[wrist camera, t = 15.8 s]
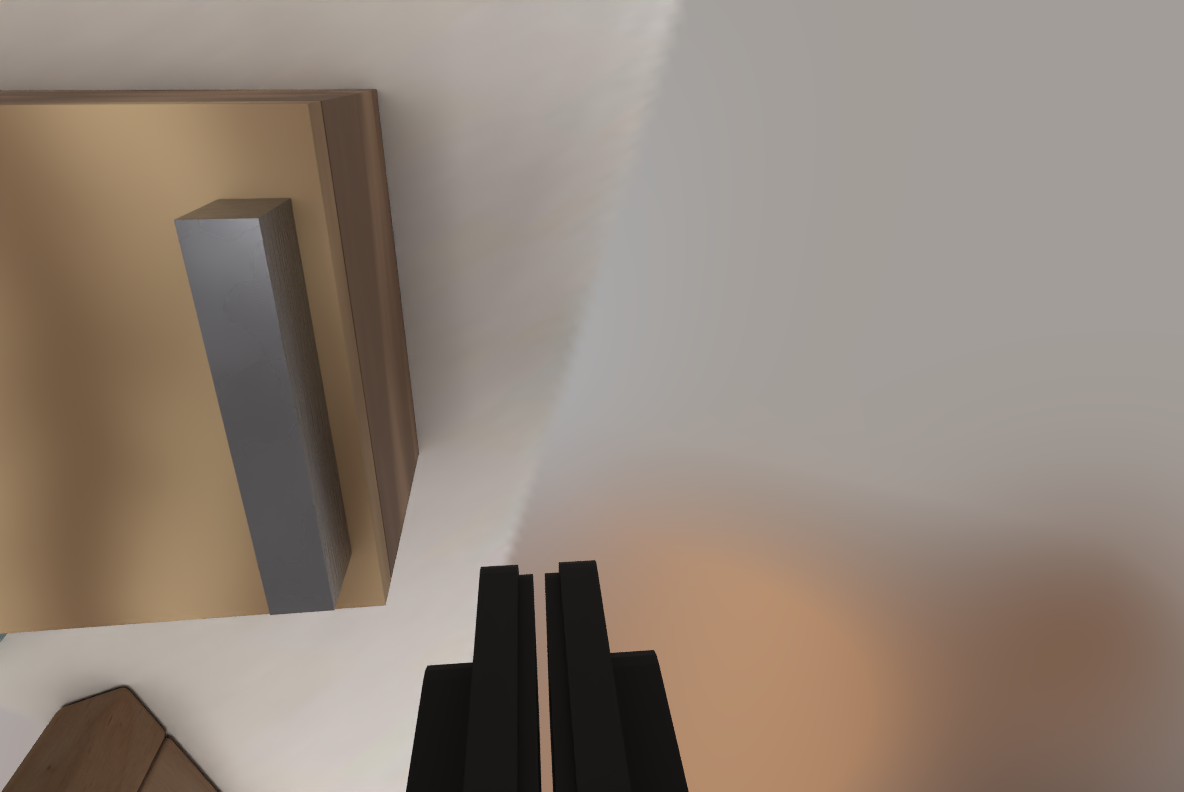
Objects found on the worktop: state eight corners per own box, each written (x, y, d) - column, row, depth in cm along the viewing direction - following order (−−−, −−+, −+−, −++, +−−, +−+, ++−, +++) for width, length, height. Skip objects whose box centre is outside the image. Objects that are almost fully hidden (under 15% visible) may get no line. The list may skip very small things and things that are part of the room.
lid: (-129, 615, 21) (-243, 716, 18) (-408, 104, 15) (-655, 115, 12) (390, 579, 23) (372, 665, 19) (320, 101, 17) (276, 109, 13)
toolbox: (34, 473, 28) (-126, 613, 21) (-112, 90, 23) (-403, 104, 15) (418, 453, 30) (391, 577, 23) (376, 89, 24) (321, 100, 17)
